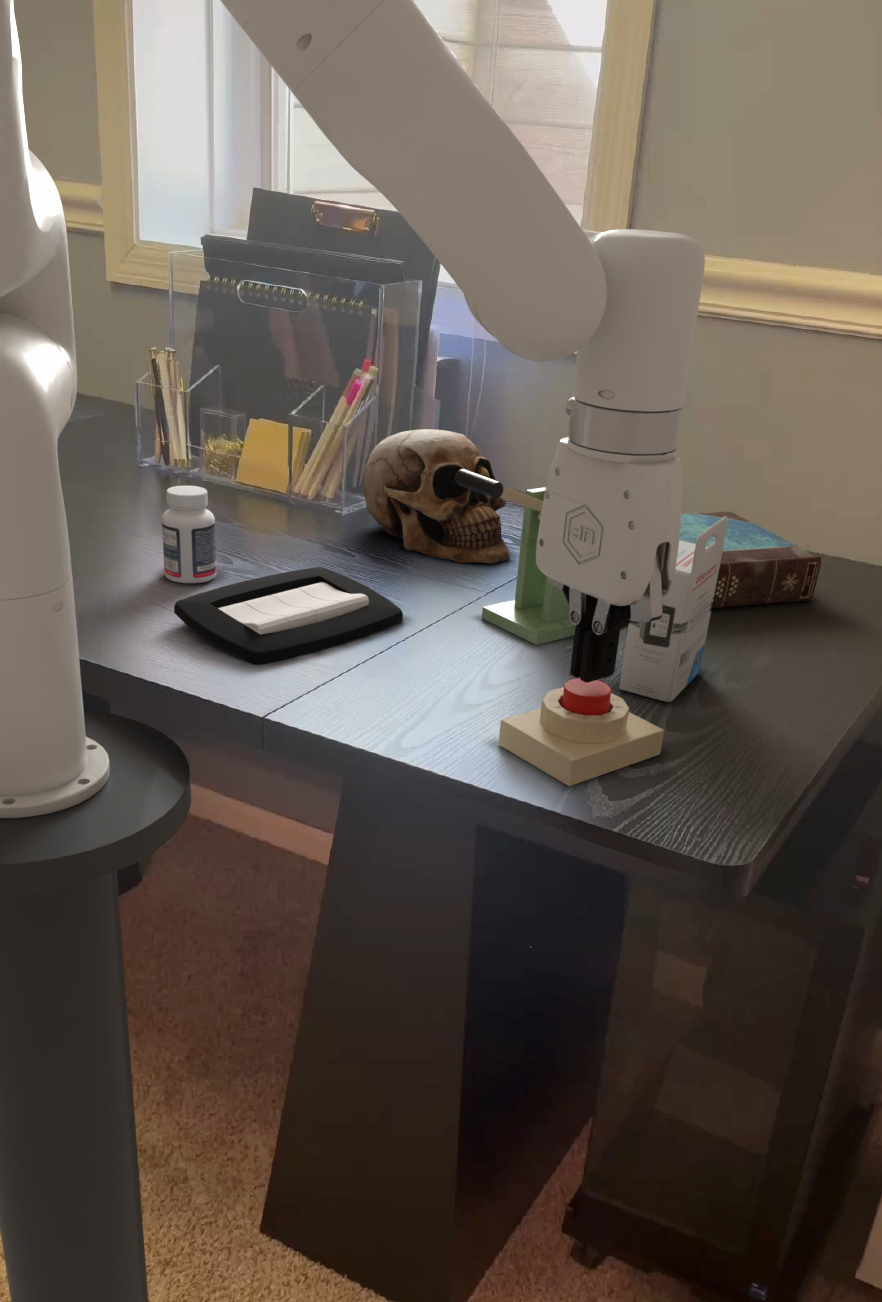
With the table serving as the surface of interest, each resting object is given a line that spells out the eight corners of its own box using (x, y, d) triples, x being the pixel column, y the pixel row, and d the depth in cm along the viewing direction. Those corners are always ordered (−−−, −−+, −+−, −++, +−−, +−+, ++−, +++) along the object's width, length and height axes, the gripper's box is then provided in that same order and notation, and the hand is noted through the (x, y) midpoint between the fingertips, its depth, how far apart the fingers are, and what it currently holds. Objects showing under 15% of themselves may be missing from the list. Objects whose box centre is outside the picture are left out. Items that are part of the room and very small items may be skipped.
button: (584, 722, 90) (587, 700, 89) (552, 704, 92) (554, 683, 91) (618, 711, 92) (621, 690, 91) (585, 694, 94) (588, 674, 93)
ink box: (650, 660, 111) (676, 503, 104) (701, 673, 109) (731, 514, 102) (616, 690, 104) (641, 524, 97) (669, 704, 102) (699, 536, 95)
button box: (568, 787, 88) (575, 738, 86) (497, 744, 93) (502, 698, 91) (660, 754, 94) (668, 708, 92) (588, 716, 99) (594, 672, 97)
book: (628, 617, 121) (636, 570, 118) (551, 562, 135) (556, 519, 132) (812, 602, 129) (822, 557, 126) (721, 551, 143) (728, 510, 141)
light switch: (255, 650, 102) (159, 590, 109) (253, 680, 103) (159, 619, 111) (418, 603, 115) (323, 552, 122) (414, 630, 116) (320, 578, 124)
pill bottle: (219, 569, 125) (217, 484, 121) (213, 585, 121) (211, 498, 117) (167, 566, 125) (164, 482, 121) (160, 583, 120) (156, 496, 116)
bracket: (536, 645, 112) (551, 511, 106) (481, 618, 118) (492, 489, 112) (610, 626, 118) (628, 498, 112) (554, 601, 123) (569, 478, 117)
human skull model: (508, 565, 132) (507, 441, 126) (354, 567, 134) (345, 444, 128) (514, 531, 146) (513, 418, 140) (374, 532, 148) (367, 421, 142)
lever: (487, 502, 103) (496, 475, 102) (450, 487, 106) (460, 461, 106) (581, 535, 112) (591, 510, 112) (545, 521, 116) (554, 497, 115)
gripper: (510, 411, 85) (490, 652, 93) (669, 459, 75) (629, 723, 83) (586, 403, 89) (559, 634, 98) (745, 447, 79) (699, 700, 88)
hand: (591, 675), depth 90 cm, fingers closed
